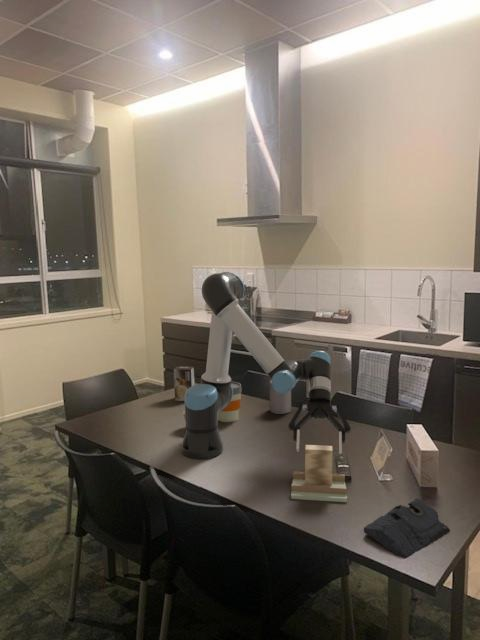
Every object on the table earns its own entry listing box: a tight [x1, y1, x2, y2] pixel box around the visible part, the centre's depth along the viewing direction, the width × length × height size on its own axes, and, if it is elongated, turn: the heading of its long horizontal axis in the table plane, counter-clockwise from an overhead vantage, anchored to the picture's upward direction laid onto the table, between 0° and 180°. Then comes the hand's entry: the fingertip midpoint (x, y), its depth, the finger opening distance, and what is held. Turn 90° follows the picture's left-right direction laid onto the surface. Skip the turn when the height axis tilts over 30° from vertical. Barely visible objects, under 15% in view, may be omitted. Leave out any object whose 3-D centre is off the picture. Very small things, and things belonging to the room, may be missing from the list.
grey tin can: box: [269, 379, 292, 415], centre depth 221 cm, size 10×10×15 cm
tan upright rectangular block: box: [304, 444, 334, 485], centre depth 148 cm, size 8×4×12 cm, turn 81°
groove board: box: [290, 470, 348, 503], centre depth 148 cm, size 16×14×3 cm
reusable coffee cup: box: [218, 381, 243, 423], centre depth 211 cm, size 12×12×15 cm
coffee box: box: [173, 365, 196, 402], centre depth 240 cm, size 9×6×16 cm
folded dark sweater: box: [363, 498, 451, 559], centre depth 126 cm, size 15×22×5 cm
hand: (318, 451), depth 157 cm, fingers open, 13 cm apart
